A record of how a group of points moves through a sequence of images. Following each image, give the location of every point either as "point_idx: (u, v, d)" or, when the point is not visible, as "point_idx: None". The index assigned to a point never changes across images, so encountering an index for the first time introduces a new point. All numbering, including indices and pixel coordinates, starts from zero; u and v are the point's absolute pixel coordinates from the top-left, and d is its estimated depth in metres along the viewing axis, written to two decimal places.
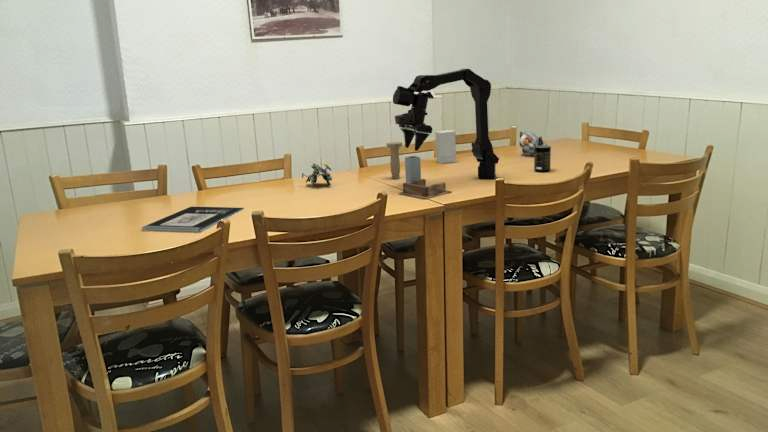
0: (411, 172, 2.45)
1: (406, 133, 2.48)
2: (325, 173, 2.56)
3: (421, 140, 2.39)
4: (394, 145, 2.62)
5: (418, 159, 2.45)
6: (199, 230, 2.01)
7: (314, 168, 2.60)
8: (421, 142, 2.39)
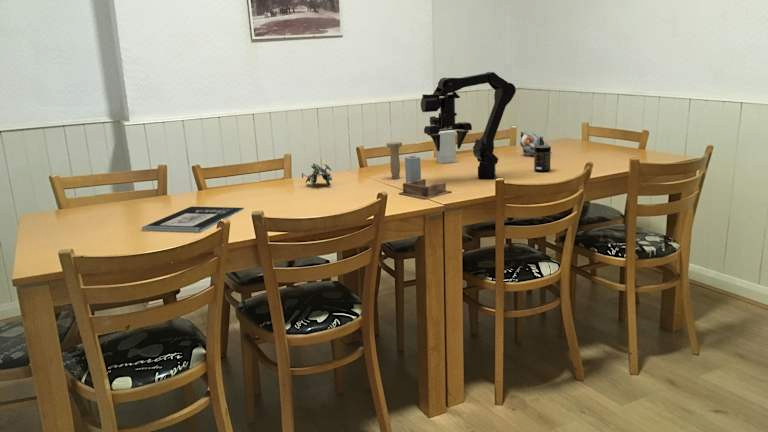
0: (411, 172, 2.45)
1: (457, 134, 2.55)
2: (325, 173, 2.56)
3: (436, 141, 2.49)
4: (394, 145, 2.62)
5: (418, 159, 2.45)
6: (199, 230, 2.01)
7: (314, 168, 2.60)
8: (436, 143, 2.49)
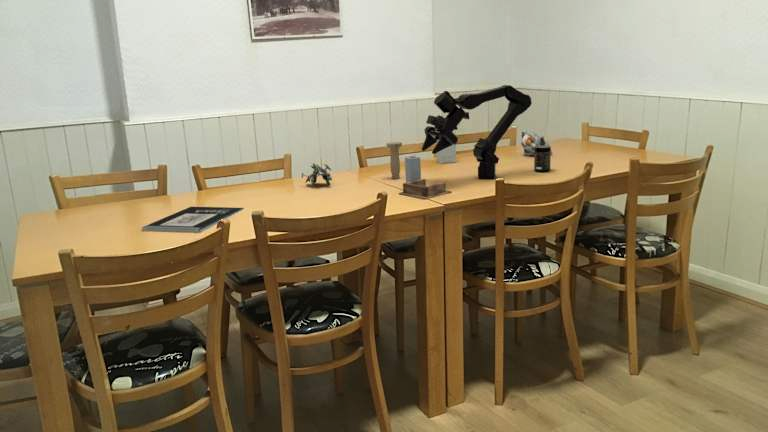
0: (411, 172, 2.45)
1: (428, 138, 2.52)
2: (325, 173, 2.57)
3: (442, 146, 2.43)
4: (394, 145, 2.62)
5: (418, 159, 2.45)
6: (199, 230, 2.01)
7: (314, 168, 2.60)
8: (441, 148, 2.44)
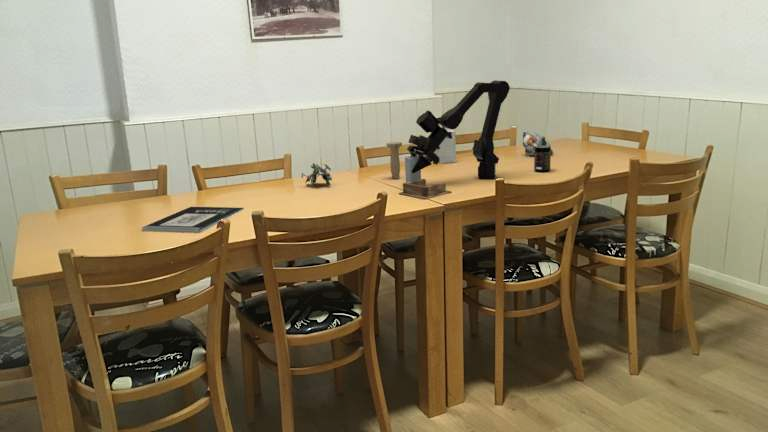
0: (411, 172, 2.45)
1: None
2: (325, 173, 2.57)
3: (421, 166, 2.44)
4: (394, 145, 2.62)
5: (418, 159, 2.45)
6: (199, 230, 2.01)
7: (314, 168, 2.61)
8: (420, 167, 2.44)
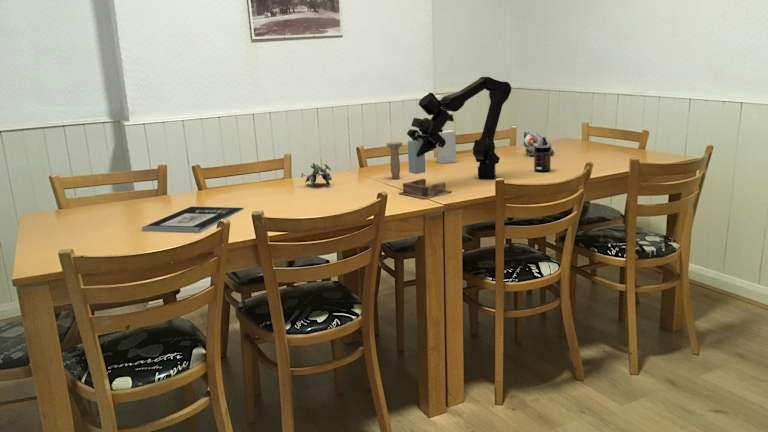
0: (416, 156, 2.38)
1: None
2: (325, 173, 2.57)
3: (426, 149, 2.38)
4: (394, 145, 2.62)
5: (422, 142, 2.39)
6: (199, 230, 2.00)
7: (314, 168, 2.61)
8: (425, 151, 2.38)
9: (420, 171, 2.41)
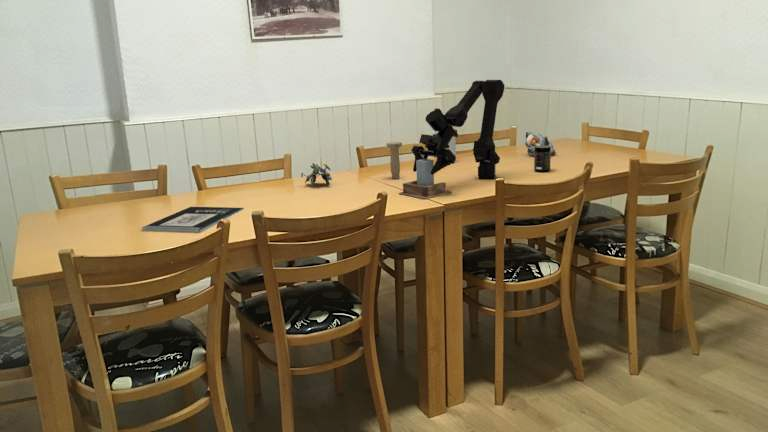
0: (426, 175, 2.34)
1: (418, 158, 2.40)
2: (324, 173, 2.57)
3: (440, 166, 2.33)
4: (394, 145, 2.62)
5: (431, 162, 2.35)
6: (199, 230, 2.00)
7: (313, 168, 2.61)
8: (439, 168, 2.33)
9: None
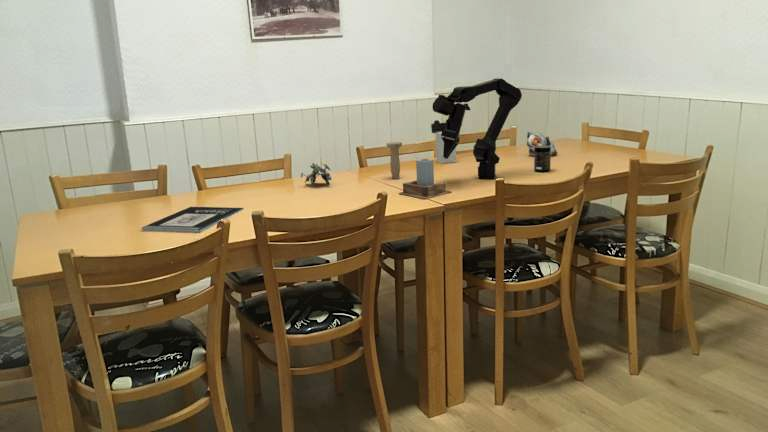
0: (426, 175, 2.34)
1: None
2: (324, 173, 2.57)
3: (449, 147, 2.42)
4: (394, 145, 2.62)
5: (431, 162, 2.35)
6: (199, 230, 2.00)
7: (313, 168, 2.61)
8: (449, 149, 2.42)
9: None
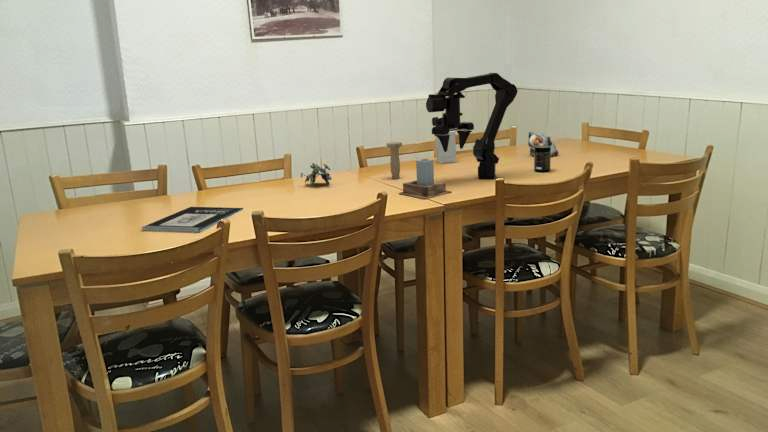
0: (426, 175, 2.34)
1: (459, 134, 2.54)
2: (324, 173, 2.57)
3: (444, 141, 2.47)
4: (394, 145, 2.62)
5: (431, 162, 2.35)
6: (199, 230, 2.00)
7: (313, 168, 2.61)
8: (445, 143, 2.47)
9: None
